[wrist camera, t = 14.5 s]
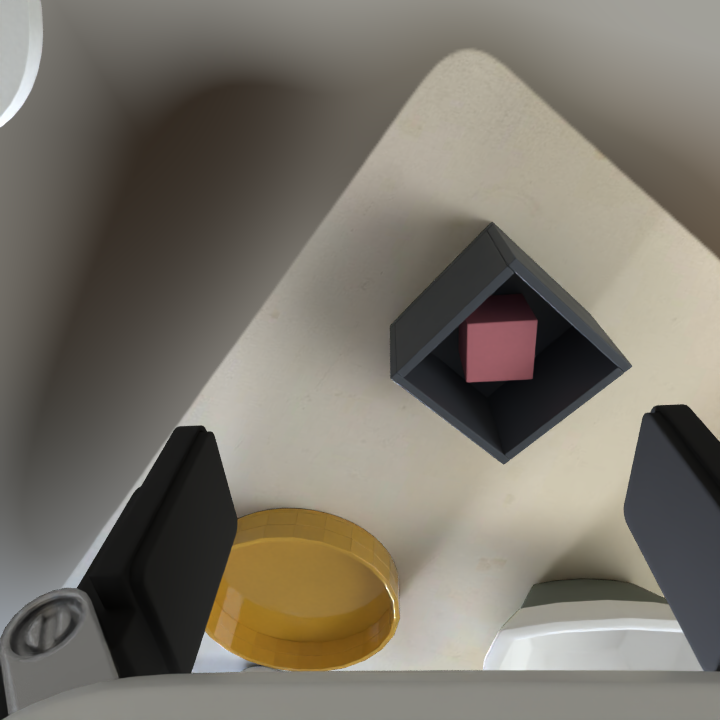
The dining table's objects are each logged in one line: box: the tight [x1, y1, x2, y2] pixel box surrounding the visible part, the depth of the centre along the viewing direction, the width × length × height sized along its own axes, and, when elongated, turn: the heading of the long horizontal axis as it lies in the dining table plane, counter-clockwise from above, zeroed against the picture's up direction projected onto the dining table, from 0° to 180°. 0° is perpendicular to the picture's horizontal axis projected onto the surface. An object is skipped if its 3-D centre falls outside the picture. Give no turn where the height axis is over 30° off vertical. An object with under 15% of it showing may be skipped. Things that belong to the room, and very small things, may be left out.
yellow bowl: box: [205, 508, 400, 671], centre depth 52 cm, size 20×20×4 cm
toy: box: [459, 294, 538, 382], centre depth 36 cm, size 4×4×4 cm
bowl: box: [483, 579, 703, 671], centre depth 50 cm, size 22×23×8 cm
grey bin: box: [390, 222, 632, 464], centre depth 35 cm, size 10×10×8 cm
